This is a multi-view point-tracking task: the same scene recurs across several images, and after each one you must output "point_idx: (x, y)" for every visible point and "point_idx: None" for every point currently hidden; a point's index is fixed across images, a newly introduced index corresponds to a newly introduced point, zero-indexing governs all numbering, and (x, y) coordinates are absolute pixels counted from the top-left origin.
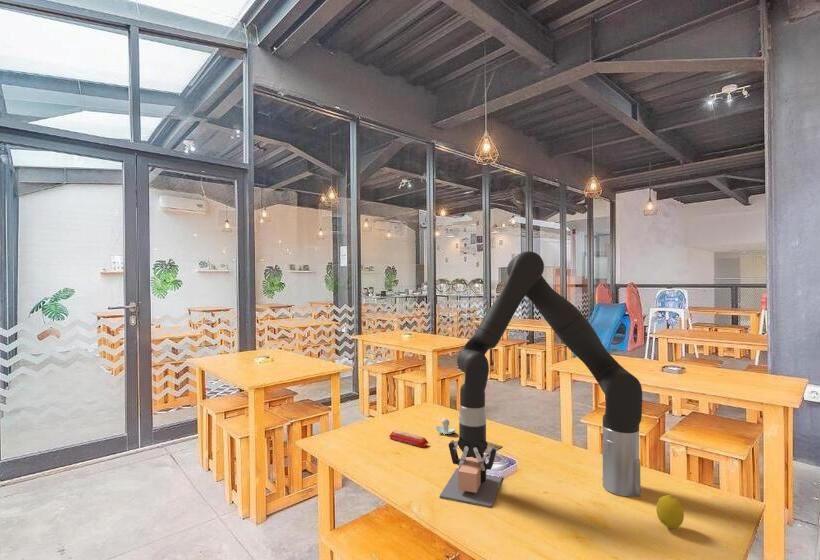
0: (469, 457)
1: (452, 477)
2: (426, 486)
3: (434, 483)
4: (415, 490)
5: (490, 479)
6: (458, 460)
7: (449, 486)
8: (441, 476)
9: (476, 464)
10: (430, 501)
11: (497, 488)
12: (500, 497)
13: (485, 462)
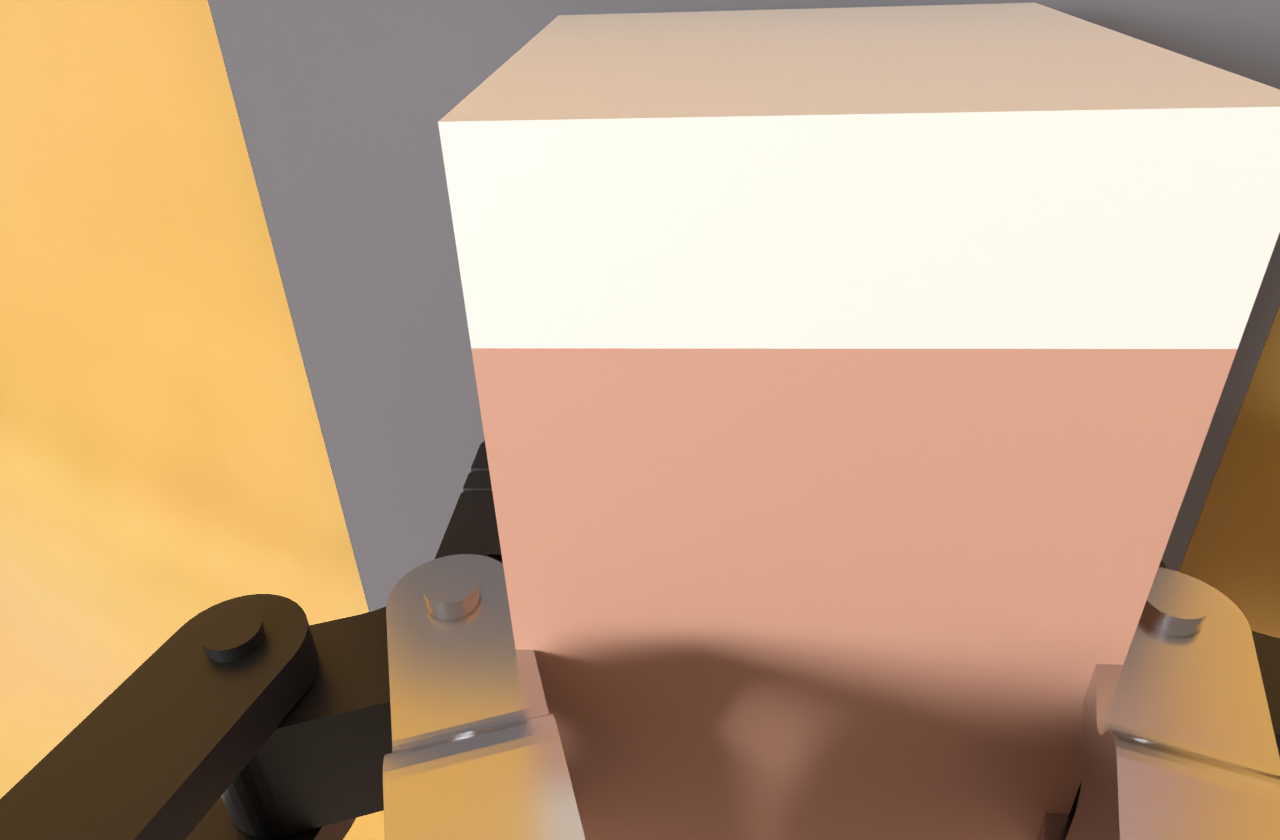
0: (589, 433)
1: (301, 245)
2: (107, 576)
3: (142, 471)
4: (66, 690)
5: (1130, 11)
6: (369, 801)
7: (413, 547)
8: (72, 199)
9: (930, 791)
10: (366, 816)
11: (1251, 359)
12: (1252, 534)
13: (1255, 713)
